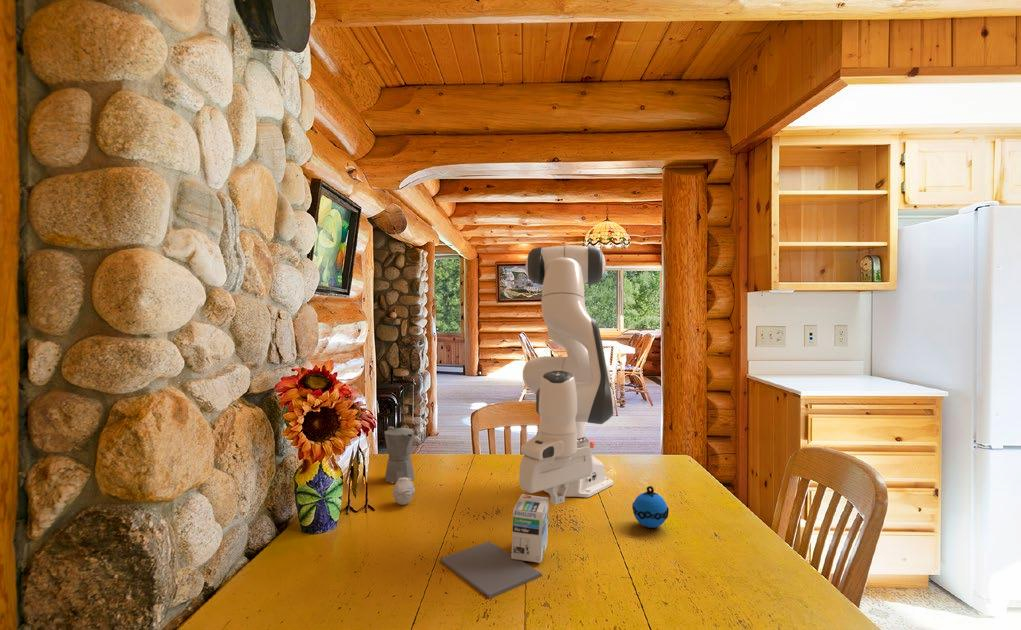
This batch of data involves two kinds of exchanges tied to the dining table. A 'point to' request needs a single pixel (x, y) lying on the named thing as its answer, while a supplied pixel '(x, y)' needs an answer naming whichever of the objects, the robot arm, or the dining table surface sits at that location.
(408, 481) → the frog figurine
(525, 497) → the light bulb box
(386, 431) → the coffeepot
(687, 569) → the dining table surface
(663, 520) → the ornament
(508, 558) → the mat
